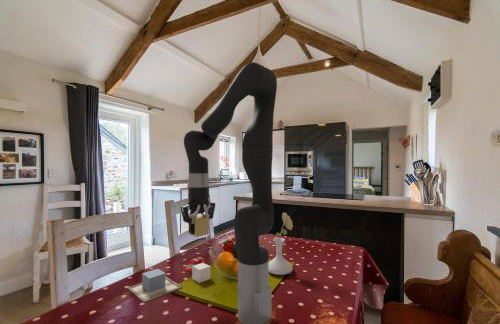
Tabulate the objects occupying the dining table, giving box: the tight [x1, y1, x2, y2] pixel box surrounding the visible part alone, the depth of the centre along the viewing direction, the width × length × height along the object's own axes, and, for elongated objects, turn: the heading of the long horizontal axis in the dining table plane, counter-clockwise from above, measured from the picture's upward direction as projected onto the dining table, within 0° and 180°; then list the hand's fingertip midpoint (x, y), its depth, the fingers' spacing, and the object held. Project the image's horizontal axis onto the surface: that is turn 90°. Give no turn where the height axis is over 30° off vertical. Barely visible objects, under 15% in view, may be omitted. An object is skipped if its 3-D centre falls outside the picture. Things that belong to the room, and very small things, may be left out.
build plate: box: [127, 275, 183, 304], centre depth 92 cm, size 14×14×1 cm
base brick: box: [141, 268, 166, 293], centre depth 92 cm, size 6×6×5 cm
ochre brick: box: [188, 215, 209, 238], centre depth 92 cm, size 5×5×6 cm
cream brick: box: [191, 263, 211, 284], centre depth 99 cm, size 5×5×6 cm
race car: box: [183, 257, 206, 274], centre depth 111 cm, size 13×5×4 cm, turn 165°
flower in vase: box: [269, 212, 294, 276], centre depth 108 cm, size 13×11×25 cm
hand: (198, 232), depth 92 cm, fingers closed on ochre brick, 5 cm apart
